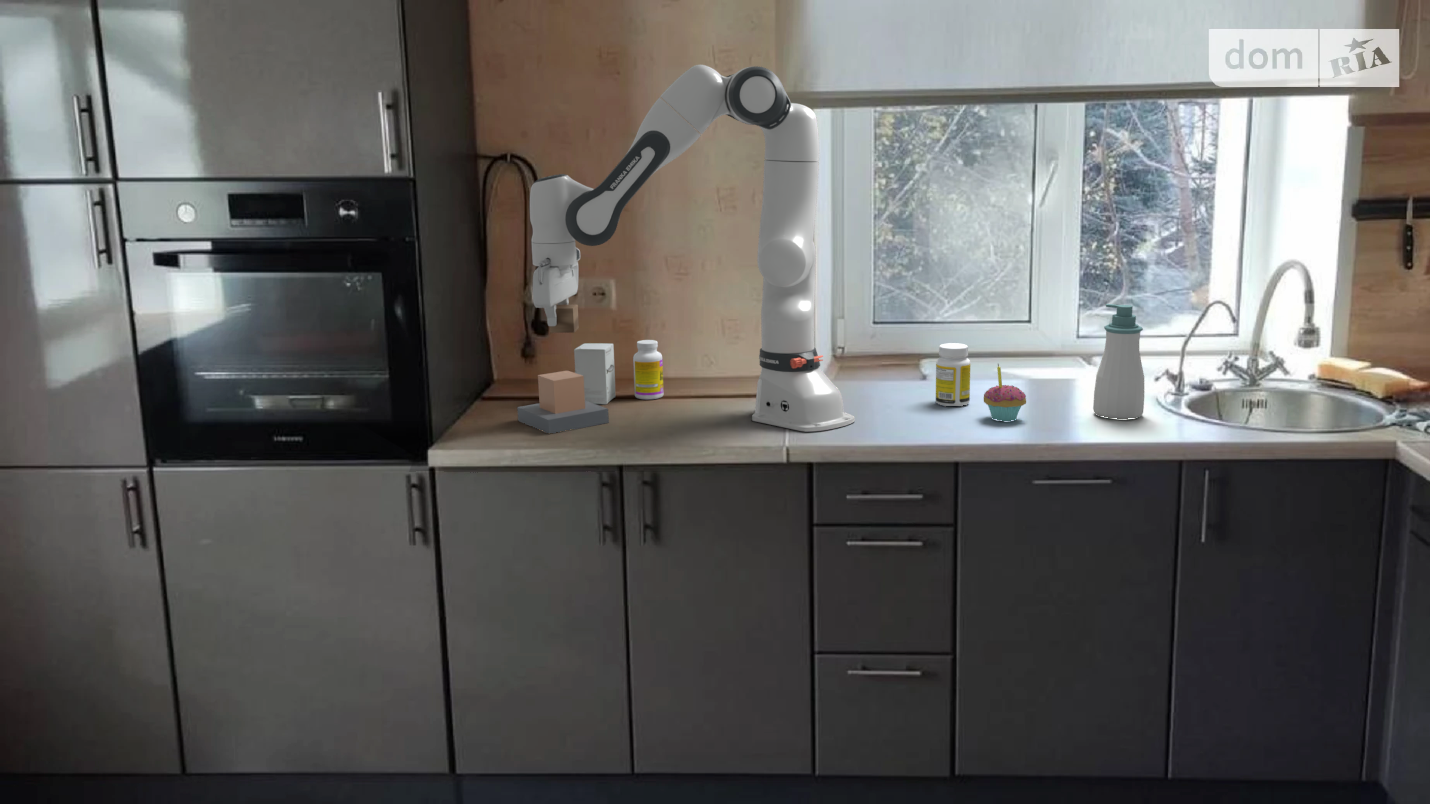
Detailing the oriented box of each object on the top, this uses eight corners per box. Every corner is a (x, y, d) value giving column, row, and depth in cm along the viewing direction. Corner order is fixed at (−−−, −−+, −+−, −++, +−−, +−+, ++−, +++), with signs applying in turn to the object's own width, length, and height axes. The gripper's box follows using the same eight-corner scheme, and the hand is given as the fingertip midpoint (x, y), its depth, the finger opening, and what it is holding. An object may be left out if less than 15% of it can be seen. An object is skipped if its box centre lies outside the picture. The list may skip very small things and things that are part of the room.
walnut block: (578, 328, 238) (577, 304, 237) (574, 332, 234) (572, 308, 232) (555, 328, 239) (554, 304, 238) (550, 332, 234) (548, 308, 233)
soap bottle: (1106, 407, 243) (1113, 300, 237) (1151, 414, 236) (1159, 305, 231) (1084, 416, 236) (1090, 306, 231) (1129, 424, 229) (1136, 311, 224)
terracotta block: (585, 408, 239) (583, 375, 238) (555, 413, 236) (553, 380, 234) (569, 402, 245) (567, 370, 243) (539, 407, 241) (537, 375, 239)
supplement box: (607, 404, 255) (604, 349, 252) (575, 404, 256) (572, 348, 253) (616, 397, 262) (614, 342, 259) (585, 396, 263) (583, 342, 260)
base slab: (608, 422, 239) (608, 408, 239) (549, 434, 231) (548, 419, 231) (576, 410, 250) (575, 396, 250) (518, 420, 243) (517, 407, 242)
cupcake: (1001, 426, 230) (1003, 368, 227) (973, 417, 237) (975, 361, 234) (1034, 420, 233) (1036, 363, 230) (1005, 412, 241) (1007, 356, 238)
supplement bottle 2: (964, 399, 253) (966, 342, 250) (973, 406, 246) (975, 348, 243) (931, 400, 252) (932, 343, 249) (939, 408, 245) (941, 349, 242)
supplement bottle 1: (665, 399, 258) (663, 343, 255) (636, 401, 257) (633, 345, 254) (662, 392, 265) (660, 338, 262) (633, 394, 264) (631, 339, 261)
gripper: (554, 262, 222) (557, 332, 225) (582, 250, 242) (585, 314, 245) (522, 262, 223) (527, 331, 226) (553, 250, 243) (557, 314, 246)
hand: (557, 322), depth 236 cm, fingers closed on walnut block, 5 cm apart
